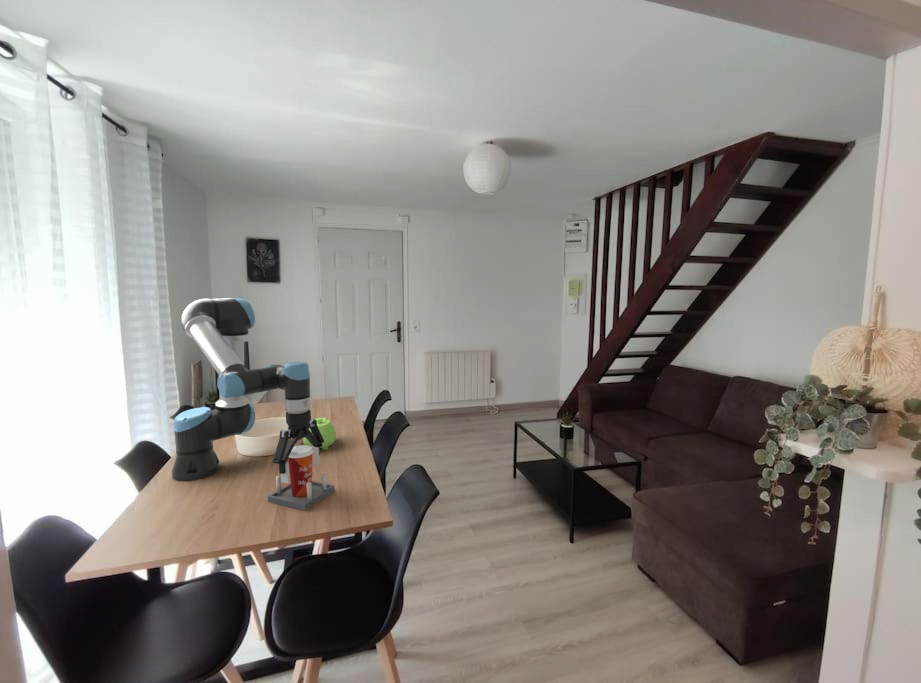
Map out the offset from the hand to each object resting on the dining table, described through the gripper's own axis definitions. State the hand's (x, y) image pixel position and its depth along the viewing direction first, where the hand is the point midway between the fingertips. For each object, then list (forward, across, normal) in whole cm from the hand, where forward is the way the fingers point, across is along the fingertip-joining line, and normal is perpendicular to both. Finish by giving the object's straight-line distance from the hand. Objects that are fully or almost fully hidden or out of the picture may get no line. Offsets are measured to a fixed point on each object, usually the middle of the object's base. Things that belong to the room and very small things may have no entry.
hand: (301, 473), depth 135 cm
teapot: (+8, +38, +25) cm, 46 cm away
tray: (+8, 0, 0) cm, 8 cm away
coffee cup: (+7, 0, 0) cm, 7 cm away
